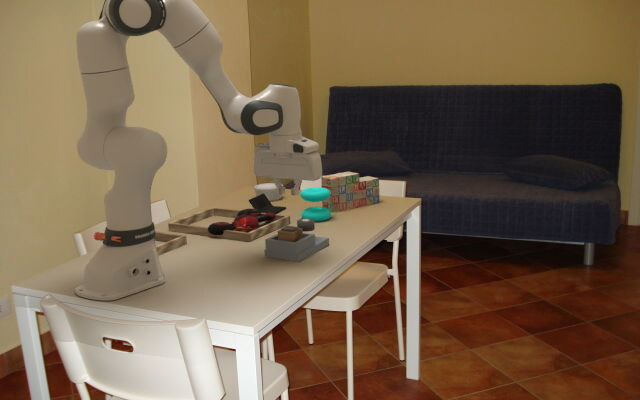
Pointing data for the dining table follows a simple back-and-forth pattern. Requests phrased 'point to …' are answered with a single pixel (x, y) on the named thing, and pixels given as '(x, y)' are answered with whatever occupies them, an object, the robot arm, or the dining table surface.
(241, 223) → the toy motorcycle
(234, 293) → the dining table surface
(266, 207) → the handheld gaming console
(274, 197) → the ramekin
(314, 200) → the donuts
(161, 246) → the wooden frame
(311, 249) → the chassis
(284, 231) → the brown block
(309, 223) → the wheel
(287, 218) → the wooden open frame
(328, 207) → the stack of blocks
